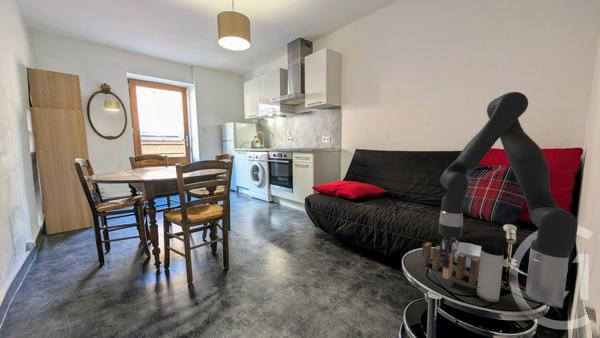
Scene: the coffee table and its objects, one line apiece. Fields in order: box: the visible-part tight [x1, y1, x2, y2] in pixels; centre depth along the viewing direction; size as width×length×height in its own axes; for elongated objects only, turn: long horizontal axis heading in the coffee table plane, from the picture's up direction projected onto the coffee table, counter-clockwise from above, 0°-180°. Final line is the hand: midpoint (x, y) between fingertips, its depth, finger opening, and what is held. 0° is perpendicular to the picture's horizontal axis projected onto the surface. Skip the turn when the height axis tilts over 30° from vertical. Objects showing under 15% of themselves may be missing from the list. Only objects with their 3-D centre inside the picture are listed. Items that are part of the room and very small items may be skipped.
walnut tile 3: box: [455, 252, 467, 280], centre depth 96 cm, size 2×5×10 cm, turn 130°
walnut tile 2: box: [431, 244, 443, 271], centre depth 103 cm, size 2×5×10 cm, turn 130°
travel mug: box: [476, 241, 505, 303], centre depth 83 cm, size 6×7×20 cm
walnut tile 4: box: [468, 256, 480, 286], centre depth 93 cm, size 2×5×10 cm, turn 130°
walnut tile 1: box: [421, 241, 433, 267], centre depth 106 cm, size 2×5×10 cm, turn 130°
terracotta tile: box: [442, 250, 454, 280], centre depth 92 cm, size 2×5×10 cm, turn 131°
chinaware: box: [454, 241, 481, 269], centre depth 106 cm, size 15×15×8 cm
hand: (448, 265), depth 92 cm, fingers closed on terracotta tile, 5 cm apart
